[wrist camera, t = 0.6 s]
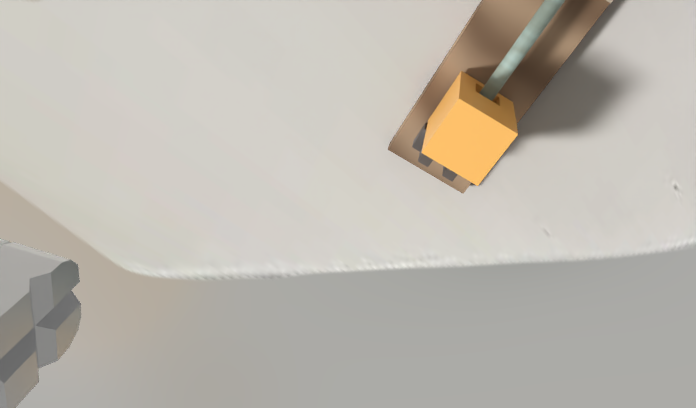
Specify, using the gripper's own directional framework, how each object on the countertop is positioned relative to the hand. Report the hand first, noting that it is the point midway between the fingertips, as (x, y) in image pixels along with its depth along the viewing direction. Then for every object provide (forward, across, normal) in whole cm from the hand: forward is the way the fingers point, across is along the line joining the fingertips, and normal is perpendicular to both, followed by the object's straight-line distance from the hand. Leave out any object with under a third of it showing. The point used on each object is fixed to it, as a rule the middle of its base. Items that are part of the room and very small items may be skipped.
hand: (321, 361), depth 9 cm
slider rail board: (+42, -7, +3) cm, 43 cm away
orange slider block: (+41, -5, +9) cm, 42 cm away
